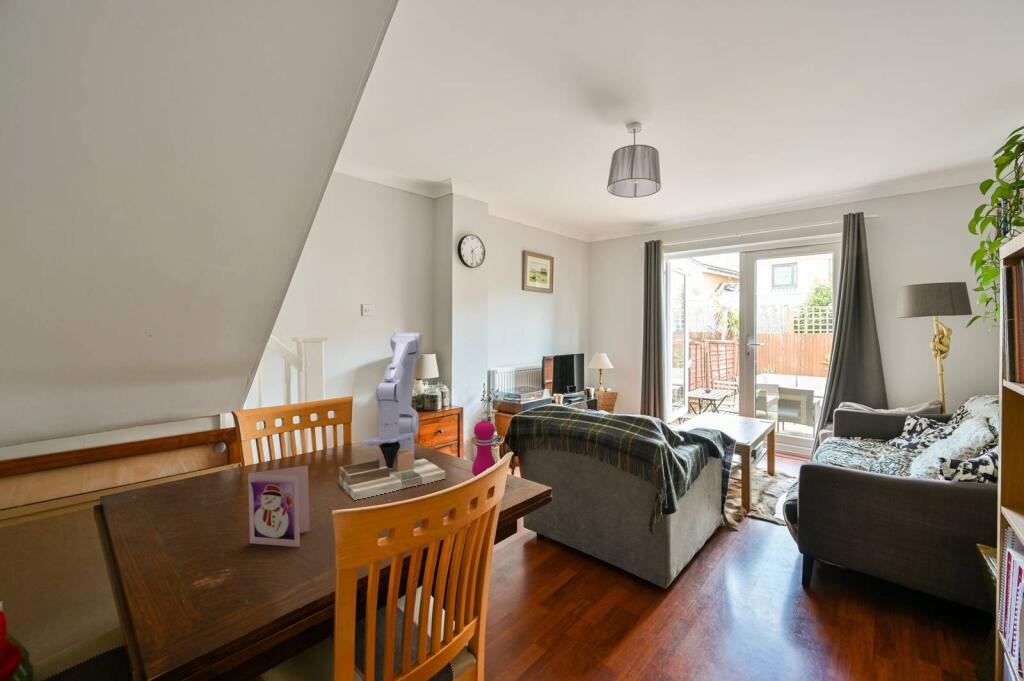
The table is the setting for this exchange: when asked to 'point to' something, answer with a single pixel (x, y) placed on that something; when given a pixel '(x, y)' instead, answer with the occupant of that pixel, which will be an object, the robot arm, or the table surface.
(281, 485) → the greeting card
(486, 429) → the pepper mill
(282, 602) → the table surface
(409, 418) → the robot arm
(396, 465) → the cube
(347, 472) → the wooden frame
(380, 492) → the plate
